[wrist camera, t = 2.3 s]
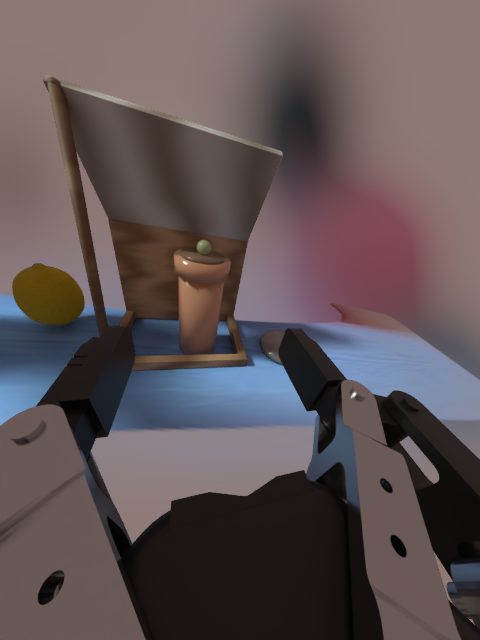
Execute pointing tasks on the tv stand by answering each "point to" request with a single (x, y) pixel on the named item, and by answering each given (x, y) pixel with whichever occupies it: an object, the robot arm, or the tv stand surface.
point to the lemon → (48, 295)
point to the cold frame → (160, 203)
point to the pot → (199, 296)
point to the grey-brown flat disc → (272, 345)
